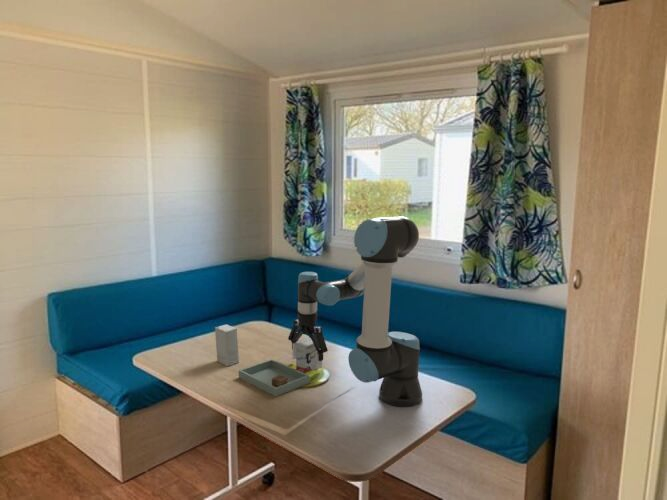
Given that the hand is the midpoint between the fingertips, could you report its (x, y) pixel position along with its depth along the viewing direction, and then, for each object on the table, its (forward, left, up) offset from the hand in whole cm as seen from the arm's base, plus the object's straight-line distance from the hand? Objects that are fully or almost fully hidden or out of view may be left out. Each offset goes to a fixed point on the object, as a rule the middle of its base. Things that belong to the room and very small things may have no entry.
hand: (307, 363), depth 199 cm
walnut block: (-7, +20, -2) cm, 21 cm away
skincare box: (+29, +18, -3) cm, 34 cm away
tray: (0, +17, -3) cm, 17 cm away
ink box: (0, 0, -3) cm, 3 cm away
